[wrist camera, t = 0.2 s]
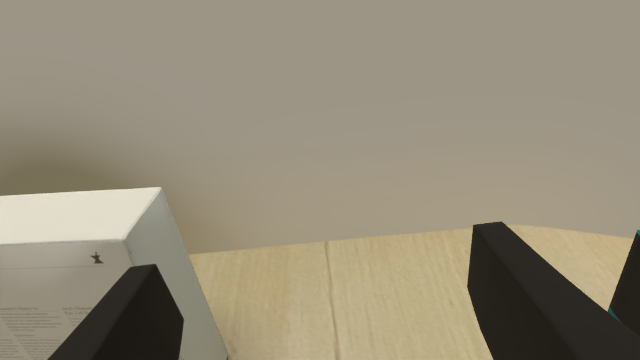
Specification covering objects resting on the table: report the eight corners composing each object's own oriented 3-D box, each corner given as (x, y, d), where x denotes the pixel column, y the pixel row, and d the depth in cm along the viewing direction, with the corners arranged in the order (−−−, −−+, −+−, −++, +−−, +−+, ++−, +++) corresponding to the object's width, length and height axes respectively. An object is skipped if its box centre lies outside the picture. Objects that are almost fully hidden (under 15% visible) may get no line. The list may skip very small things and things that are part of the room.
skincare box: (232, 347, 34) (165, 183, 25) (211, 418, 29) (120, 248, 20) (0, 344, 37) (-131, 198, 28) (-51, 407, 33) (-226, 257, 24)
